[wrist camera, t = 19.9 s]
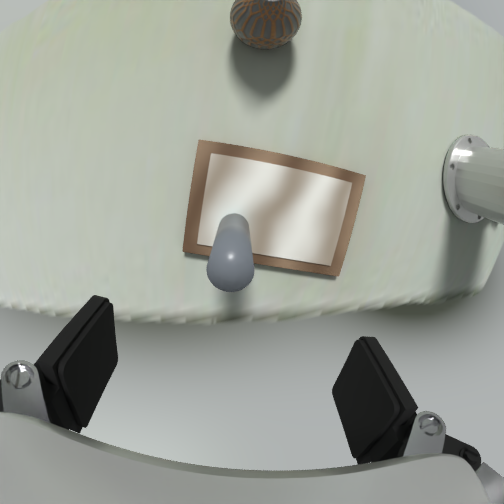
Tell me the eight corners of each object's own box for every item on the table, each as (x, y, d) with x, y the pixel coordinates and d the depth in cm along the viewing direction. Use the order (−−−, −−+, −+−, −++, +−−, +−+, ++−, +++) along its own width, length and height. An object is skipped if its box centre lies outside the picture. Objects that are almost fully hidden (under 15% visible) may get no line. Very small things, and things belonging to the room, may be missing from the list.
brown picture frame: (362, 174, 29) (366, 175, 28) (336, 273, 33) (339, 277, 31) (200, 140, 27) (198, 139, 26) (184, 248, 31) (182, 252, 30)
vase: (286, 6, 22) (300, -34, 13) (300, 53, 24) (322, 20, 16) (225, 13, 22) (221, -29, 14) (237, 61, 24) (237, 27, 16)
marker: (251, 213, 29) (258, 252, 17) (245, 240, 30) (249, 295, 18) (222, 208, 28) (210, 244, 17) (217, 236, 29) (203, 287, 18)
